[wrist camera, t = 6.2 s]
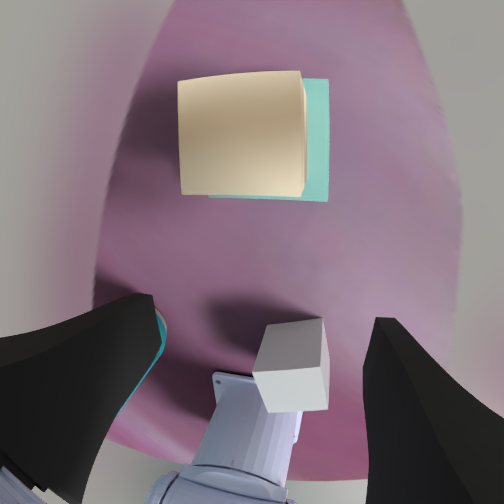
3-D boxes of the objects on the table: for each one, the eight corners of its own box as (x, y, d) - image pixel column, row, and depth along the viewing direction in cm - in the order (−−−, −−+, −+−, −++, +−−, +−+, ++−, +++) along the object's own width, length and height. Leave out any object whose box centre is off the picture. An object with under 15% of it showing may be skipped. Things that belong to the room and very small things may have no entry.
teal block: (326, 191, 16) (327, 201, 13) (226, 188, 17) (208, 197, 15) (326, 90, 14) (328, 79, 11) (224, 92, 15) (205, 84, 13)
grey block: (329, 359, 20) (328, 409, 16) (279, 364, 22) (267, 412, 17) (322, 317, 19) (320, 366, 15) (267, 324, 20) (251, 372, 16)
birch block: (307, 178, 13) (300, 197, 9) (226, 177, 14) (181, 194, 10) (306, 96, 12) (299, 71, 7) (224, 99, 13) (177, 81, 8)
